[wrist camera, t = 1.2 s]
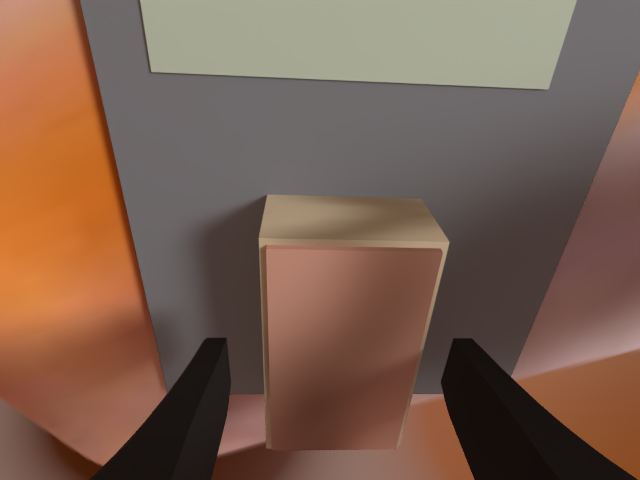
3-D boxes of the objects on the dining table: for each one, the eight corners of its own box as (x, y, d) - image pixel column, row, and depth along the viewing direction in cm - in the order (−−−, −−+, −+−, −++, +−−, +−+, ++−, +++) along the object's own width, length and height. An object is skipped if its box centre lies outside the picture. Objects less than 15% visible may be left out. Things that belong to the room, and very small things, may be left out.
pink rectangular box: (421, 198, 13) (452, 245, 10) (385, 386, 17) (400, 452, 15) (267, 194, 12) (258, 241, 10) (271, 386, 17) (266, 453, 14)
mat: (831, -431, 7) (865, -459, 7) (499, 386, 18) (504, 395, 18) (-29, -541, 6) (-53, -582, 6) (170, 386, 17) (166, 396, 17)
